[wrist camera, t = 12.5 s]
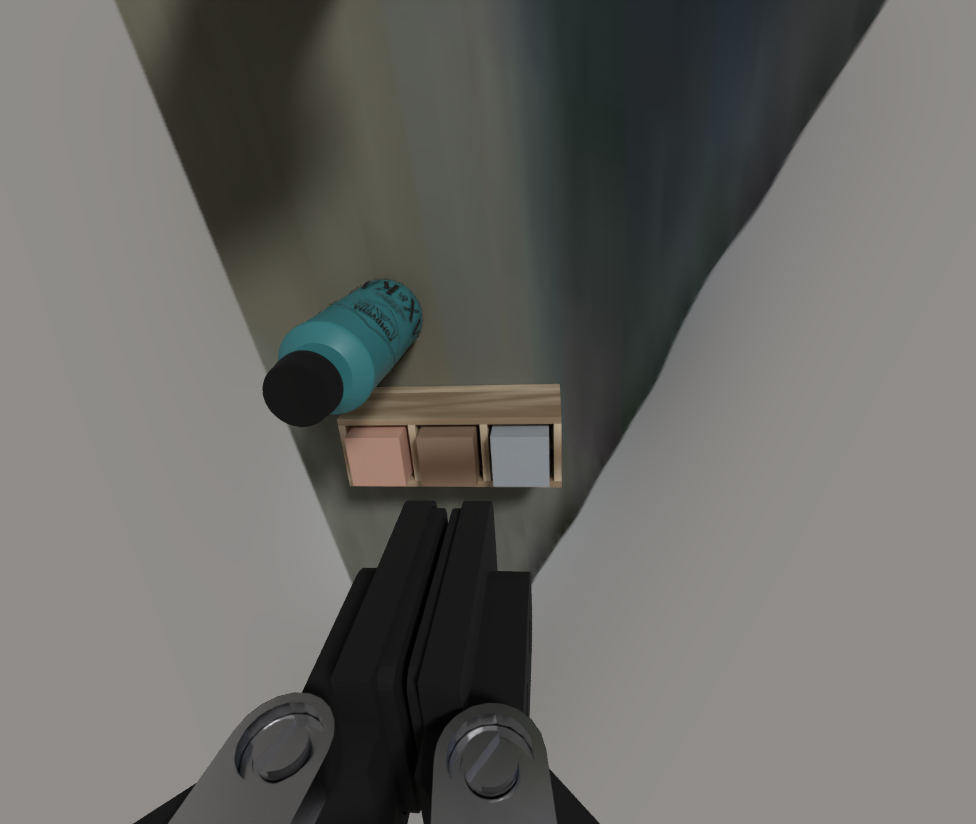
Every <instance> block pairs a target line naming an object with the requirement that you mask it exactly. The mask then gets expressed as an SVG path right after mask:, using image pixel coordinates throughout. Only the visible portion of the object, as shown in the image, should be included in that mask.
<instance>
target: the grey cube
mask: <svg viewBox="0 0 976 824" xmlns="http://www.w3.org/2000/svg"><path fill="white" fill-rule="evenodd" d="M490 442H491V458H492V473H493V487H550V483H549V424H493V426H492V431H491V436H490Z"/></svg>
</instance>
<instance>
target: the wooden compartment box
mask: <svg viewBox="0 0 976 824" xmlns="http://www.w3.org/2000/svg"><path fill="white" fill-rule="evenodd" d="M337 423H338V428H339V433H340V438H341V443H342V448H343V453H344V458H345V463H346V468H347V473H348V478H349V483H350V486H353V481H352V476H351V471H350V466H349V461H348V456H347V451H346V445H345V440H344V438H345V436H346V435H347V434H348V432H349V431H350V430H351V428H352V427H353V426H359V425H408V431H409V438H410V446H411V453H412V460H413V467H414V469H413V472H412V474H411V476H410V479H409V481H408V483H407V485H406V486H408V487H439V486H422V480H421V473H420V465H419V457H418V450H417V442H416V437H417V435H418V432H419V430H420V428H421V426H422V425H473V424H480V438H481V451H482V465H481V469H480V474H479V478H478V483H477V487H493V473H492V458H491V442H490V436H491V431H492V426H493V424H549V483H550V487H561V402H560V384H533V385H476V386H419V387H375V389H374V390H373V391H372V393H371V395H370V396H369V398H368V399H367V400H366V401H365V402H364V403H363V404H362V405H361V406H360V407H358V408H357V409H355V410H353V411H351V412H348V413H344V414H341V415H340V416H339V417H338V418H337Z"/></svg>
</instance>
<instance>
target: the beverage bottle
mask: <svg viewBox="0 0 976 824" xmlns="http://www.w3.org/2000/svg"><path fill="white" fill-rule="evenodd" d="M378 279H379V278H377V280H375V281H372V282H370V281H371V280H370V281H369V282H368V281H367V282H366V283H365V284H364V285H363V286H362V287H361V288H359V289H357V287H356V289H357V290H355V291H354V290H353V291H354V292H353V291H352V290H351V291H352V292H351V294H349V295H347V296H346V297H344V298H343V299H341V300H339V301H337V302H336V303H335V302H334V301H333V302H334V304H330V307H328V308H326V309H325V310H324V311H322V312H321V313H320V312H319V314H318V315H316V316H315V317H313V318H311V319H310V320H308V321H307V322H305V323H302V324H300V325H298V326H296V327H295V328H293V329H292V330H291V331H290V332H289V333H288V334H287V335H286V336H285V338H284V339H283V341H282V343H281V346H280V349H279V354H278V362H277V363H276V364H275V366H274V367H273V368H272V369H271V370H270V371H269V372H268V373H267V375H266V377H265V379H264V382H263V397H264V400H265V403H266V405H267V406H268V408H269V409H270V411H271V412H272V413H273V414H274V415H275V416H276V417H277V418H279V419H280V420H282V421H283V422H285V423H287V424H290V425H293V426H298V427H307V426H311V425H314V424H317V423H319V422H320V421H321V420H323V419H324V418H325V417H326V416H328V415H329V414H332V415H333V414H344V413H348V412H351V411H353V410H355V409H357V408H358V407H360V406H361V405H362V404H363V403H364V402H365V401H366V400H367V399H368V398H369V396H370V395H371V393H372V391H373V390H374V389H375V387H376V386H377V385H378V384H379V383H380V381H381V380H382V379H383V378H385V376H386V375H387V374H388V373H389V371H390V370H391V369H392V368H393V366H394V365H395V364H396V363H397V361H398V360H399V359H400V358H401V359H400V360H402V358H403V356H402V355H403V354H404V353H405V351H406V350H407V349H408V348H409V346H410V345H411V344H412V343H413V341H414V340H415V339H416V337H418V336H419V335H418V334H419V333H420V332H421V331H420V329H422V326H421V325H422V314H423V313H422V312H421V309H422V308H420V305H419V304H420V303H419V301H418V299H416V296H414V294H413V293H412V291H411V290H410V289H408V288H407V287H405V285H402V284H400V282H399V283H398V282H395V280H394V281H391V280H392V279H391V280H385V279H387V278H384V280H382V279H380V280H378ZM360 286H361V285H360ZM335 301H336V300H335ZM327 306H328V305H327ZM322 309H323V308H322ZM322 309H321V310H322ZM416 341H417V340H416ZM413 345H414V344H413ZM413 345H412V346H413ZM409 350H410V349H409ZM401 356H402V357H401ZM400 360H399V361H400ZM397 364H398V363H397ZM394 367H395V366H394ZM392 371H393V370H392ZM390 374H391V373H390Z"/></svg>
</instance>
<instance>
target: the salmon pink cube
mask: <svg viewBox="0 0 976 824" xmlns="http://www.w3.org/2000/svg"><path fill="white" fill-rule="evenodd" d="M344 440H345V445H346V451H347V456H348V461H349V466H350V471H351V476H352V481H353V486H406V485H407V483H408V481H409V479H410V476H411V474H412V472H413V469H414V467H413V460H412V453H411V446H410V438H409V431H408V425H359V426H353V427H352V428H351V430H350V431H349V432H348V434H347V435H346V436H345V438H344Z"/></svg>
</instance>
